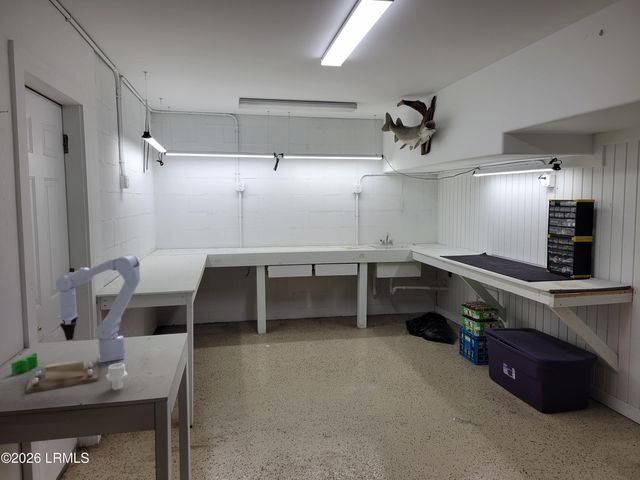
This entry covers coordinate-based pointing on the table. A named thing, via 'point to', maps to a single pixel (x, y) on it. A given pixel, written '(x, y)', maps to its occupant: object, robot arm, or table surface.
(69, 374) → the pine shelf board
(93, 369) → the peg base
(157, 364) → the table surface
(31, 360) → the green block
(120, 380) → the pipe fitting
